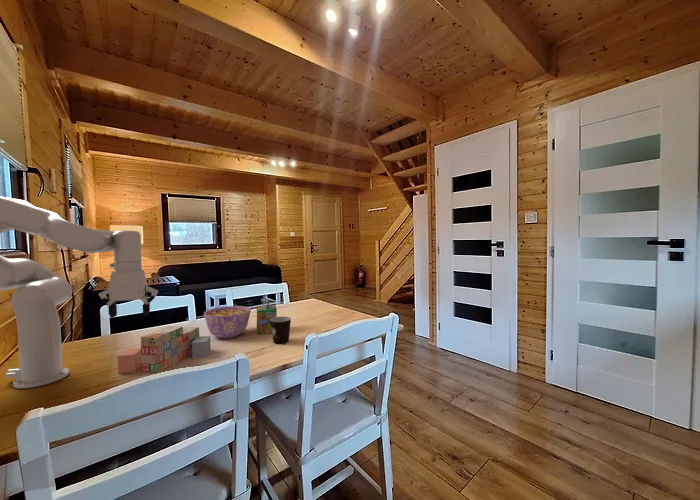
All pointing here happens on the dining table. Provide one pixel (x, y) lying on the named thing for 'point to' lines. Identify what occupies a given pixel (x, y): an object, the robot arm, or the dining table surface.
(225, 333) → the bowl of food
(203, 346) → the slate brick
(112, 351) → the dining table surface
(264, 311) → the juice box
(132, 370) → the terracotta brick
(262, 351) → the dining table surface
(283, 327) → the coffee mug
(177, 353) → the stack of blocks
